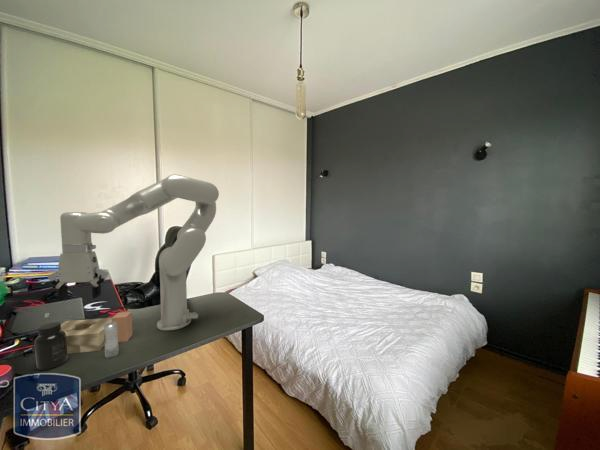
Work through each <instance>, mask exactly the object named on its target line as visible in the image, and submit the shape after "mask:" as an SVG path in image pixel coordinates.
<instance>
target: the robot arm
mask: <svg viewBox="0 0 600 450" xmlns="http://www.w3.org/2000/svg"><path fill="white" fill-rule="evenodd" d="M219 194H220V192H219V189H218V187H217V186H216V185H215V184H213V183H211V182H208V181H204V180H200V179H196V178H192V177H188V176H185V175H181V174H174V173H173V174H171V175H168V176H167V177H165V178H163V179H161V180H159V181H157V182H155V183H153V184H150V185H148V186H146V187H145V188H143V189H140V190H138V191H136V192H134V193H133V194H131V195H130V196H129V197H128V198H126V199H124V200H122V201H121V202H119V203H117V204H114V205H112V206H111V207H108V208H106V209H104V210H102V211H98V212H83V211H81V212H80V211H71V212H70V211H68V212H62V213H61V214H60V216H59V217H60V218H59V219H60V233H61V234H60V235H61V251H62V252H61V253H60V255H59V259H58V268H57V269H58V270H57V271H55V272H53V273H51V274H48V275H47V278H48V280H49V282H50V283H51V285H52V286H54V287H55V289H57V296H58V300H59V301H64V300H65V299H67V298H69V297H68V296H69V292H68V291H69V290H68V288H69V287H68V286H67V284H71V283H73V284H76V283H77V284H78V283H90V284H91V285H92V286H93V287H91V293H92V295H91V296H92V299H97V298H98V297H100V296H101V294H102V289H101V287H102V284H103V283H105V281H106V280H107V279H108V276H109V275H110V273H109V272H108V271H106V270H103V269H100V266H99V259H98V256H97V254H96V251H95V250H94V249H96V248H97V246H96V244H93V242H92V234H101V235H102V234H108V233H109V234H110V233H111V232H113V231H115V230H116V229H117V228H119V227H120V226H123V225H124V224H126V223H128V222H130V221H132V220H133V219H135V218H138V217H140V216H143V215H147V214H149V213H152V212H154V211H155V210H158V209H159V208H161V207H163V206H165V205H166V204H167V205H168V203H169V204H170V202H172V201H174V200H176V199H180V200H181V199H182V200H186V201H191V202H195V208H194V209H193V212H192V213H191V214H190V216H189V218H188V219H187V220H186V221H185V223H184V224H183V225H182V226H181V228H180V229H178V232H177V234H176V240H175V242H174V243H173V244H172V246H168V247H166V248H164V249H163V250H162V251H161V252H160V254H159V257H158V267H159V268H158V269H159V283H160V284H159V285H160V286H159V290H160V291H159V293H160V320H158V321H157V322H156V328H157V329H158V330H160V331H168V332H169V331H176V330H179V329H182V328H184V327H186V326H188V325H190V324H191V322H192V320H197V319H199V313H197V312H196V311H194V312H191V311H190V309H189V308H188V298H187V297H188V295H187V294H188V293H187V291H188V290H187V288H188V287H187V286H188V285H187V270H188V269H189V268H190V267H191V265H192V264H193V262H194V261H195V260H196V258H197V257H198V256H199V254H200V253H201V251H202V250H203V248H204V247H205V244H206V240H207V236H206V232H207V230H208V229H209V228H210V226H211V224H212V222H213V221H214V219H215V216H216V215H217V214H216V213H217V200H218V199H219V196H220V195H219ZM93 250H94V251H93ZM100 276H101V277H100ZM57 277H58V279H57ZM99 278H100V279H99Z"/></svg>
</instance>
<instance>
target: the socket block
mask: <svg viewBox="0 0 600 450" xmlns="http://www.w3.org/2000/svg"><path fill="white" fill-rule="evenodd" d="M111 322H112V317H101V318H91V319H90V318H89V319H76V320H75V319H74V320H65V321H64V322H63V323H60V324H61V330H62V331H64V332H65V333H66V341H67V353H68V355H69V354H80V353H90V352H99V351H101V350H102V349H103V348H105V343H104V325H105V324H107V323H111Z"/></svg>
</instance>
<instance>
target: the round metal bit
mask: <svg viewBox="0 0 600 450" xmlns="http://www.w3.org/2000/svg"><path fill="white" fill-rule="evenodd" d="M104 343H105V346H104V357H105V358H113V357H116V356H117V355H118V354H119V342H118V329H117V322H111V323H107V324H105V325H104Z"/></svg>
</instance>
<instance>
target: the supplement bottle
mask: <svg viewBox="0 0 600 450" xmlns="http://www.w3.org/2000/svg"><path fill="white" fill-rule="evenodd" d="M61 324H62V323H61V322H50V323H46V324H43V325H41V326H39V327H38V329H37V331H38V332H37V334H38V336H37V337H36V338H35V340H34V342H33V343H34V352H35V354H34V355H35V363H36V369H38V370H40V371H46V370H51V369H55V368H58V367H59V366H61V365H63V364H65V362H66V361H67V360H68V359H69V358H68V357H69V354H68V353H67V341H66V333H65V332H64V331H62V330H61Z"/></svg>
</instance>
